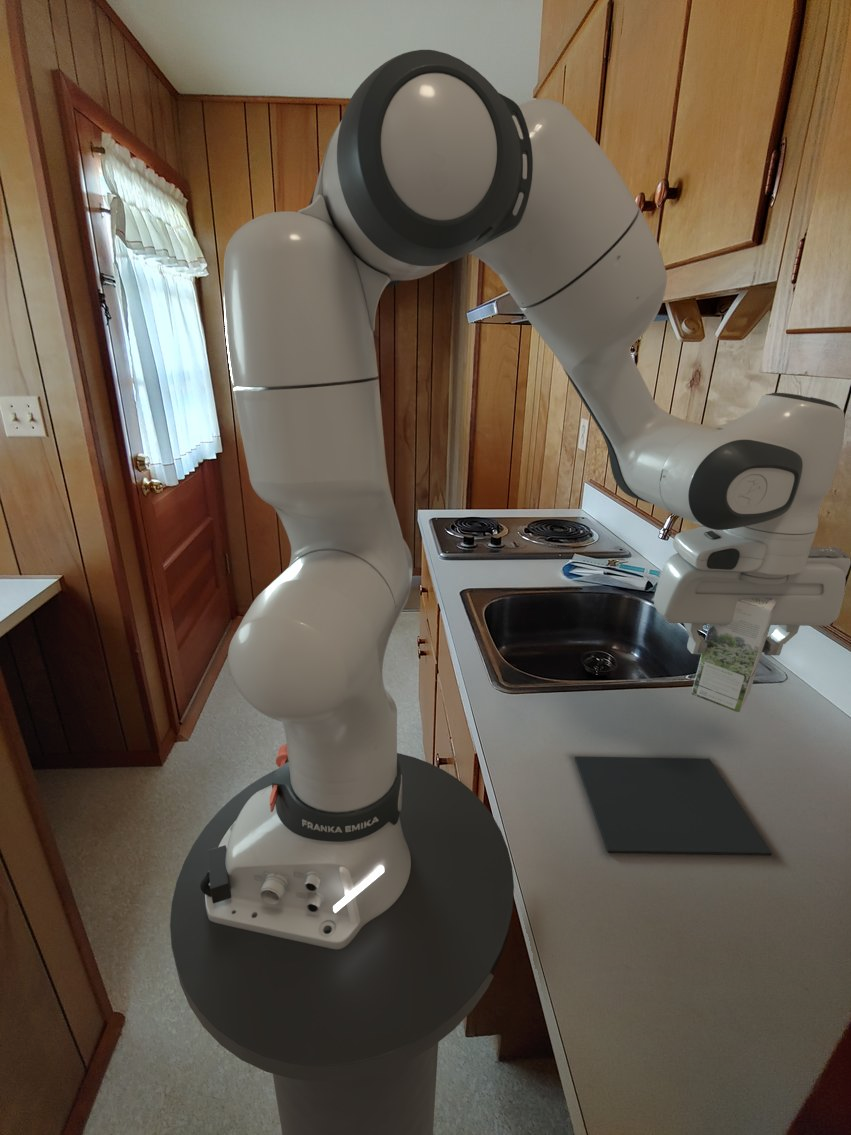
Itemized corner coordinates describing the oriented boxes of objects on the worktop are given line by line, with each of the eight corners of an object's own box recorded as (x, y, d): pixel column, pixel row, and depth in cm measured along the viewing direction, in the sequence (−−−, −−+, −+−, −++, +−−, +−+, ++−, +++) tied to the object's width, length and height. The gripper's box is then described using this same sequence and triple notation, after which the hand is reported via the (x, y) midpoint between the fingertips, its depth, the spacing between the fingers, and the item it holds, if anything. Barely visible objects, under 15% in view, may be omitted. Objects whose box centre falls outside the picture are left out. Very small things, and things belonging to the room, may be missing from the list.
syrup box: (750, 693, 70) (782, 589, 64) (739, 715, 65) (772, 607, 60) (703, 675, 73) (729, 576, 67) (689, 695, 69) (716, 591, 63)
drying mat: (607, 852, 67) (608, 850, 67) (574, 758, 81) (574, 756, 81) (771, 855, 67) (772, 852, 67) (708, 760, 82) (709, 758, 81)
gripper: (835, 538, 64) (800, 640, 70) (660, 534, 64) (639, 637, 70) (876, 558, 58) (834, 668, 64) (684, 554, 58) (659, 665, 64)
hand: (731, 652), depth 67 cm, fingers closed on syrup box, 7 cm apart
